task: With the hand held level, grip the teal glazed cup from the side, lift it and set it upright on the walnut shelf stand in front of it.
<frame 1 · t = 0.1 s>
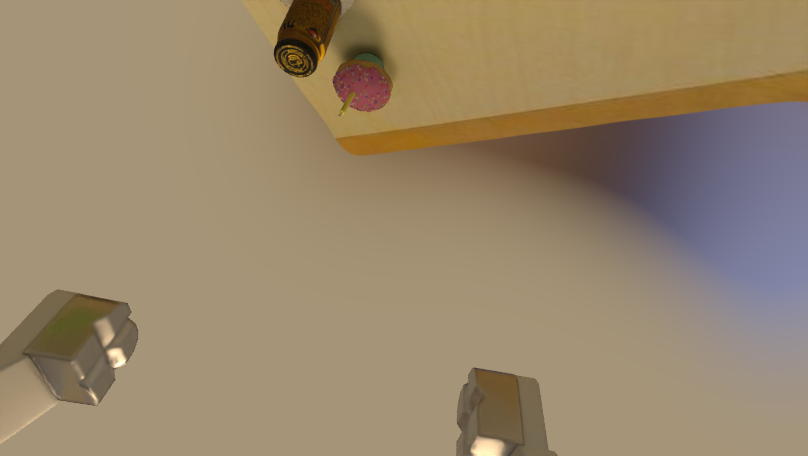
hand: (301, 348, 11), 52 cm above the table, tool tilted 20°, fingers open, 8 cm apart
cupcake: (369, 65, 68), on the table
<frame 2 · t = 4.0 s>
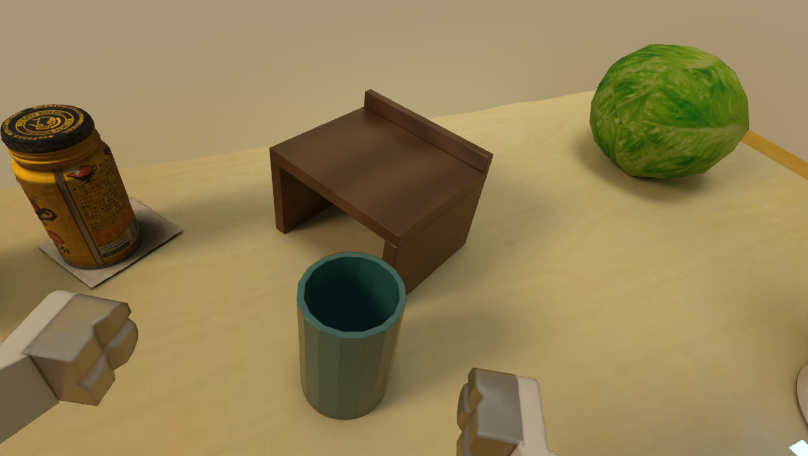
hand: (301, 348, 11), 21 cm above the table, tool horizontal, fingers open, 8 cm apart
lettuce: (639, 163, 61), on the table
cup: (345, 377, 33), on the table
shelf: (372, 235, 44), on the table
condiment: (114, 241, 39), on the table
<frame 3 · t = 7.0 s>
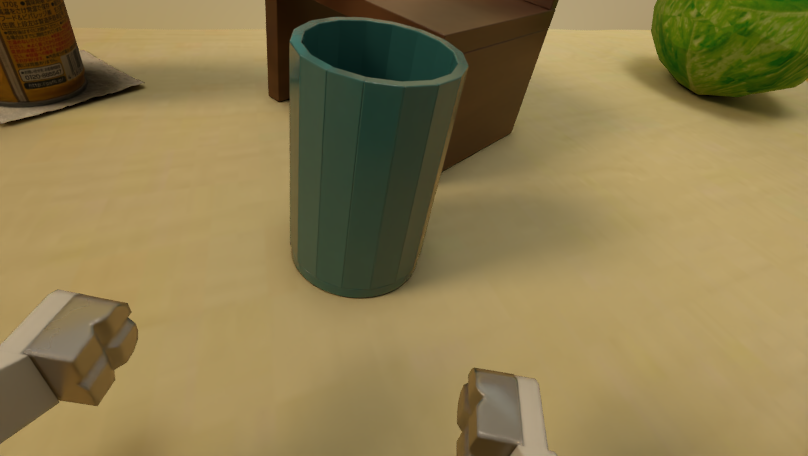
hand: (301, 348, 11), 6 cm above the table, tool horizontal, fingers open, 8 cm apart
lettuce: (705, 89, 51), on the table
cup: (355, 249, 22), on the table
shelf: (393, 114, 34), on the table
condiment: (50, 87, 29), on the table
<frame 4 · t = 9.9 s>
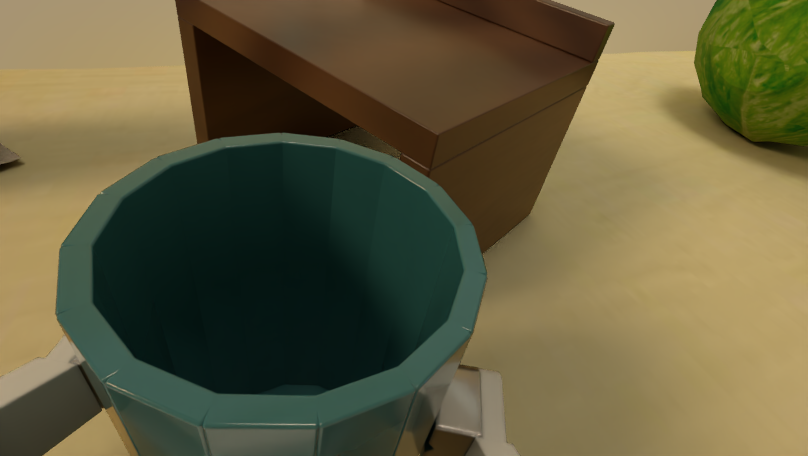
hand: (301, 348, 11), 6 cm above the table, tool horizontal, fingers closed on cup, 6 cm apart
lettuce: (755, 130, 43), on the table
shelf: (371, 192, 25), on the table
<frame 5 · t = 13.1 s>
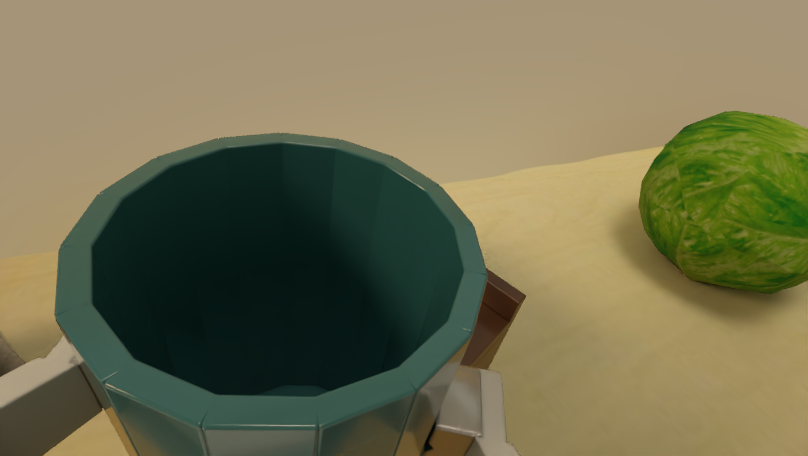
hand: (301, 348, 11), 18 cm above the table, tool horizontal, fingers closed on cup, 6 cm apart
lettuce: (698, 257, 47), on the table
shelf: (335, 384, 29), on the table
when the fingers open (14 cm above the table, at t = 16.4 s): cup stays where it is, resting on shelf.
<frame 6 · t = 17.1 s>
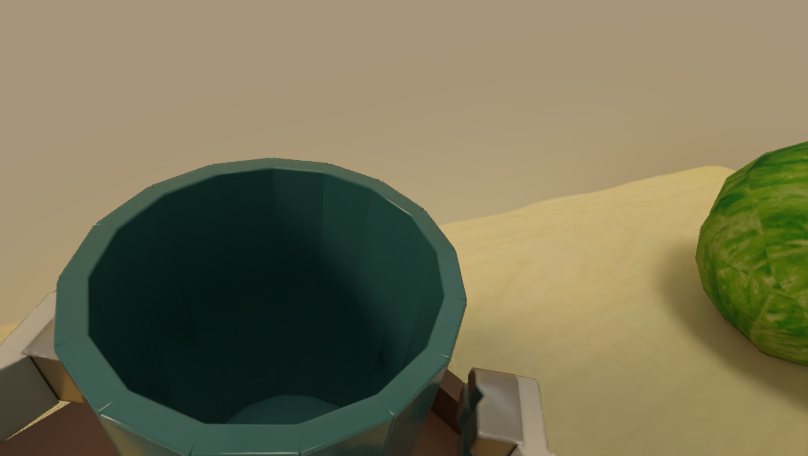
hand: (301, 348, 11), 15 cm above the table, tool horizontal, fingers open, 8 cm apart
lettuce: (765, 317, 37), on the table
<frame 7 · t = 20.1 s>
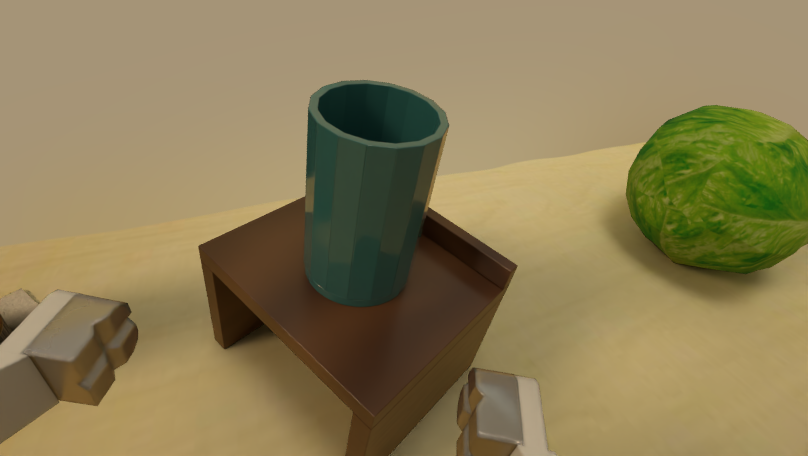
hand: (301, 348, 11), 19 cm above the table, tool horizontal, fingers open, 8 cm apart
lettuce: (682, 243, 50), on the table
cup: (358, 265, 26), point 9 cm above the table, touching shelf
shelf: (346, 352, 32), on the table
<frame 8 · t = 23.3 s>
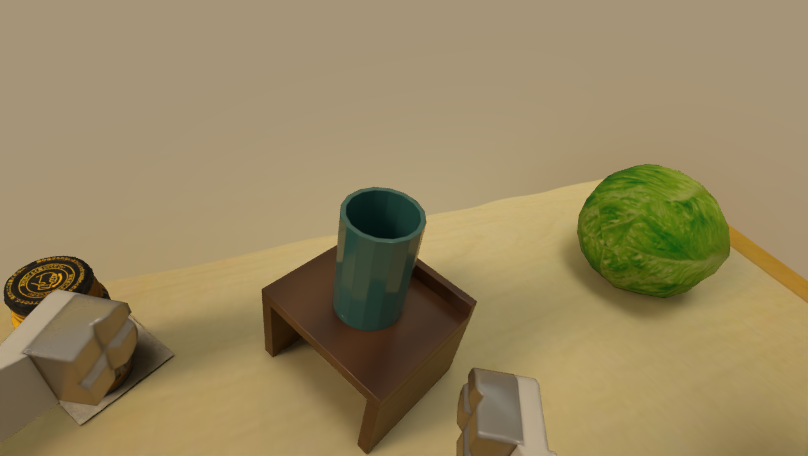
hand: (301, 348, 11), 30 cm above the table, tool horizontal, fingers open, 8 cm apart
lettuce: (625, 269, 62), on the table
cup: (368, 301, 39), point 9 cm above the table, touching shelf
shelf: (359, 359, 45), on the table
condiment: (107, 366, 40), on the table
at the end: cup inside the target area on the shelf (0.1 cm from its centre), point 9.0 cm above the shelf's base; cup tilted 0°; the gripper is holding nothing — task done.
